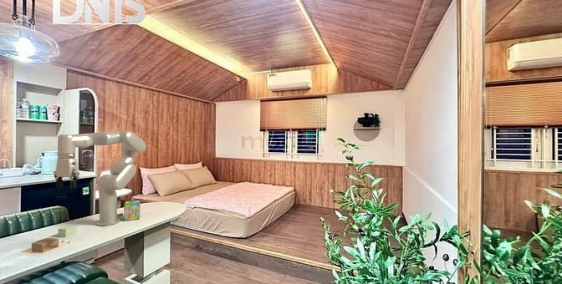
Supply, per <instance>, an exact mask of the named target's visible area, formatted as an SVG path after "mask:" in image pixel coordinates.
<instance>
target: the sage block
mask: <svg viewBox="0 0 562 284" xmlns="http://www.w3.org/2000/svg"><path fill="white" fill-rule="evenodd" d="M76 234H77V226H76V225H71V224H70V225H65V226H61V227H58V228H57V237H58V238H68V237H71V236H73V235H76Z"/></svg>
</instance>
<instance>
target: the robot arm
mask: <svg viewBox="0 0 562 284" xmlns="http://www.w3.org/2000/svg"><path fill="white" fill-rule="evenodd" d="M115 144H116V145H117V144H122V145H121V147H122V155H121V157H120V158H119V160H117V162H116V163H114V165H113V166H112V167H111V168H110V174H102V175H101V176H99V177H98V179H97V181H96V184H97V190H98V204H99V205H98V207H99V211H98V213H99V221H97V222H96V226H97V227H98V226H99V227H105V226H106V227H107V226H112V225H115V224H118V223H120V221H121V219H120V217H122V216H123V217H124V212H121V213H118V200H117V199H118V195H117V191H120V190H123V189H124V188H125V187H126V186H127V185H128V184H129V183H130V181H131V180H132V179H133V178H134V176H135V175H136V172H137V166H136V165H135V164H134V163H135V161H136V160H135V159H136V158H135V154H136V153H143V152H145V151H146V149H147V144H146V143H145V141H144V140H143V139H141V138H140V136H138V135H137V134H136V133H134V132H133V131H131V130H113V131H102V132H101V131H99V132H90V133H79V134H77V133H76V134H59V135H58V136H57V161H56V167H55V171H53V173H52V174H53V176H54V178H55V179H54V180H55V187H56V188H62V187H64V179H63V178H68V179H69V189H74V188H77V187H78V186H77V185H78V183H77V180H78V179H79V178H80V177H79V176H80V171H79V167H78V162H77V159H76V148H81V149H82V148H83V149H84V148H88V147H90V146H109V145H115Z"/></svg>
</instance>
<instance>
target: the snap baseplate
mask: <svg viewBox="0 0 562 284" xmlns="http://www.w3.org/2000/svg"><path fill="white" fill-rule="evenodd" d="M58 239H59V247H56V248H54V249H51V250H49V251H46V252H43V253H41V252H34V251H32V248H29V249H27V250H24V251H21V252H19V253H17V254H18V255H22V256H23V255H24V256H31V257H37V258H40V257H43V256H46V255H48V254H51V253H54V252H56V251H59V250H61V249H64V248H66V247H68V246H71V245H73V244H76V243H79V242H80V241H79V240H71V239H65V238H64V239H63V238H58Z"/></svg>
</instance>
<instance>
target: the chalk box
mask: <svg viewBox="0 0 562 284" xmlns="http://www.w3.org/2000/svg"><path fill="white" fill-rule="evenodd" d="M134 198H135V196H133V198H132V200H126V201H125V202H124V204H123V222H129V221H138V220H140V217H141V200H140V199H139V200H134Z"/></svg>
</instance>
